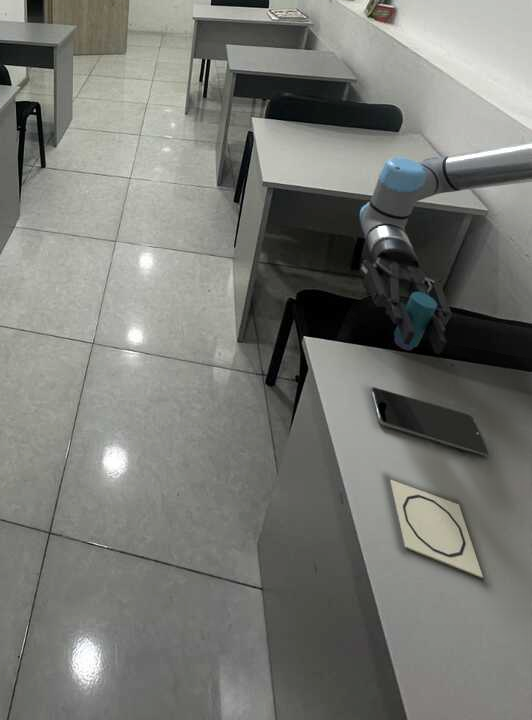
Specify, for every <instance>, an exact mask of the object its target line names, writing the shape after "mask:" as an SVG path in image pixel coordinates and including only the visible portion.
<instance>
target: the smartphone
mask: <svg viewBox="0 0 532 720" xmlns="http://www.w3.org/2000/svg"><path fill="white" fill-rule="evenodd" d="M370 394H371V398H372V402H373V406H374V410H375V413H376V417H377V421H378V423H379V424H380V425H381V426H384V427H386V428H390V429H392V430H397V431H400V432H403V433H406V434H409V435H413V436H416V437H419V438H423V439H426V440H430V441H433V442H436V443H440V444H443V445H446V446H448V447H452V448H455V449H458V450H462V451H465V452H469V453H471V454H472V453H473V454H476V455H479V456H482V457H488V456H490V452H489V449H488V447H487V444H486V443H485V439H484V438H483V436H482V433H481V431H480V429H479V427H478V424H477V422H476V421H475V418H474V417H473V416H472V415H471V414H468V413H465V412H461V411H457V410H454V409H451V408H447V407H444V406H441V405H437V404H433V403H430V402H425V401H423V400H420V399H416V398H412V397H409V396H405V395H402V394H399V393H395V392H393V391H388V390H384V389H382V388H377V387H373V386H372V387H371V388H370Z"/></svg>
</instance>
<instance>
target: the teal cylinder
mask: <svg viewBox="0 0 532 720" xmlns="http://www.w3.org/2000/svg"><path fill="white" fill-rule="evenodd" d="M428 295H429V294H428ZM428 295H426V294H424V293H421V292H413V293H412V294H411V296H409V298H408V301H407V303H406V304H405V306H406V309H407V311H408V314H409V317H410V320H411V322H412V325H413V328H414V331H415V334H414V336H413V338H412V340H411V343H410V345H407V344H404V342H403V339H402V336H401V333H400V330H399V327H398V324H396V328H395V329H394V332H393V336H394V343H395V345H396V346H398V347H399V348H400V349H402V350H405V351H413V349H414V348H417V347H418V346H419V344H420V342H421V340H422V338H423V336H424V334H425V332H426V328H427V326H428V324H429V322H430V320H431V318H432V315H433V313H434V311H435V309H436V307H437V303H436V301H435V300H434V299H433V298H431V297H430V296H428Z"/></svg>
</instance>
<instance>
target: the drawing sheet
mask: <svg viewBox="0 0 532 720" xmlns="http://www.w3.org/2000/svg"><path fill="white" fill-rule="evenodd" d="M389 482H390V487H391V491H392V496H393V500H394V505H395V509H396V513H397V518H398V522H399V527H400V532H401V536H402V540H403V546H404V548H405V549H407V550H410V551H412V552H415V553H418V554H420V555H423V556H425V557H428V558H430V559H433V560H435V561H438V562H441V563H443V564H446V565H447V566H451V567H453V568H456V569H457V570H460V571H463V572H466V573H468V574H470V575H473V576H475V577H479V578H480V579H483V578H484V576H483V573H482V570H481V567H480V564H479V561H478V558H477V554H476V552H475V549H474V545H473V543H472V540H471V536H470V533H469V531H468V527H467V525H466V524H467V523H466V522H465V519H464V516H463V513H462V509H461V507H460V504H459V503H456V502H453V501H451V500H448V499H446V498H442V497H440V496H437V495H434V494H431V493H429V492H426V491H423V490H420V489H418V488H415V487H412V486H410V485H406V484H404V483H401V482H398V481H395V480H393V479H390V480H389Z"/></svg>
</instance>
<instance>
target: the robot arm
mask: <svg viewBox="0 0 532 720" xmlns="http://www.w3.org/2000/svg"><path fill="white" fill-rule="evenodd" d="M524 183H525V184H526V183H532V140H528V141H522V142H517V143H516V142H515V143H511V144H506V145H500V146H495V147H490V148H484V149H479V150H473V151H467V152H463V153H462V152H461V153H457V154H451V155H448V156H435V157H430V158H425V159H424V160H421V161H419V162H417V161H414V160H412V159H409V158H405V157H391V158H388V159H387V160H386V161H385V162H384V165H383V167H382V168H381V170H380V172H379V174H378V179H377V182H376V183H375V187H374V190H373V193H372V196H371V199H370V201H368V202H366V203H365V204H364V205H363V206H361V209H360V210H359V222H360V227H361V230H362V232H363V235H364V238H365V241H366V244H367V247H368V251H369V254H370V257H371V261H372V262H371V261H370V260H367V259H363V260H362V263H361V266H360V269H359V272H360V273H361V275H362V276H363V277H364V279H365V282H366V283H367V286H368V289H369V292H370V295H371V297H372V301H373V303H374V305H375V306H376V307H378V308H382V307H383V308H385V314H386V315H387V316H389V317H390V320H391V322H392V323H393V324H395V325H398V327H399V330H400V333H401V336H402V339H403V342H404V344H407V345H410V343H411V340H412V338H413V336H414V334H415V331H414V328H413V325H412V322H411V320H410V317H409V314H408V311H407V309H406V304H405V303H402V302H400V289H404V291H405V292H406V293H407V295H408V296H409V297H411V294H412V293H413V292H421V293H424V294H426V295H428V296H430V297H431V298H433V299H434V300H435V301H436V303H437V307H436V309H435V311H434V313H433V315H432V318H431V320H430V322H429V324H428V326H427V328H426V330H425V332H426V334H427V337H428V339H429V342H430V345H431V347H432V349H433V353H435V354H437V355H441V353H442V352H443V350H444V348H445V346H446V344H447V340H446V337H445V335H444V334H445V332H446V327H445V326H447V324H448V322H449V320H450V318H451V316H452V314H453V313H452V311H451V308H450V306H449V302H448V300H447V297H446V295H445V292H444V289H443V284H444V281H443V280H442V279H440V278H435V279H431V278H429V277H427V276H426V274H425V272H424V271H422V270H421V268H420V263H419V259H418V257H417V254H416V252H415V250H414V247H413V245H412V243H411V241H410V239H409V236H408V235H407V232H406V229H405V228H406V225H407V224H408V221H409V218H410V216H411V214H412V211H413V209H414V207H415V206H416V205H415V204H416V203H417V202H419V201H422V200H425V199H427V198H430V197H433V196H436V195H440V194H444V193H445V194H446V193H453V192H454V193H455V192H460V191H466V190H475V189H484V188H491V187H500V186H509V185H516V184H524ZM381 279H383V280H384V283H385V287H384V285H383V283H382V280H381ZM424 285H425V287H424ZM425 288H426V289H425ZM385 289H386V290H385Z"/></svg>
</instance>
